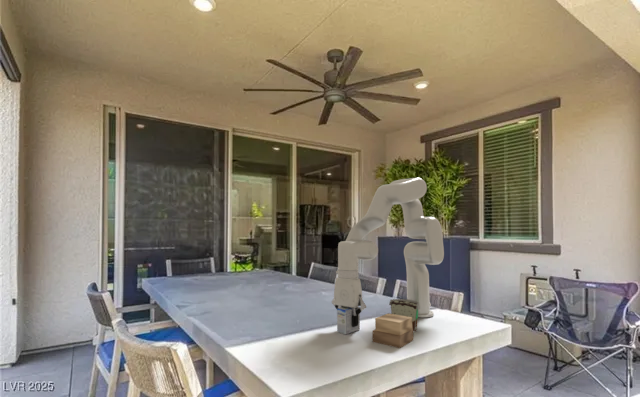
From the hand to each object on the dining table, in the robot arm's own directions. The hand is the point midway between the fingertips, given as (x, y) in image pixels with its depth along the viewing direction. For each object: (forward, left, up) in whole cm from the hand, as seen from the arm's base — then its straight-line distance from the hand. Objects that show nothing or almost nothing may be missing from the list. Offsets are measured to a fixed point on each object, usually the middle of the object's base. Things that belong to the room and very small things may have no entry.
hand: (348, 324), depth 132 cm
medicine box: (0, 0, -3) cm, 3 cm away
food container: (-18, +15, -3) cm, 24 cm away
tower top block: (0, +18, +1) cm, 18 cm away
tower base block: (0, +18, -3) cm, 18 cm away
